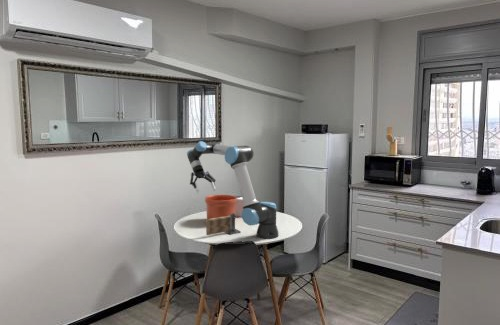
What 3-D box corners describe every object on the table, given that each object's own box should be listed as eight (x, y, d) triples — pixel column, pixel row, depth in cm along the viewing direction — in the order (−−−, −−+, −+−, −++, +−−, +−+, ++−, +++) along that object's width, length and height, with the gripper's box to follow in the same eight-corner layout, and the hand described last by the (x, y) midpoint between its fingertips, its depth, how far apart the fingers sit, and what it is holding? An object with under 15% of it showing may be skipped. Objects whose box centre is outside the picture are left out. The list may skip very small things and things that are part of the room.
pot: (212, 216, 302) (212, 193, 300) (240, 218, 295) (241, 195, 293) (199, 224, 278) (199, 199, 276) (230, 227, 271) (230, 201, 269)
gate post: (234, 230, 263) (234, 211, 262) (240, 232, 256) (240, 213, 255) (224, 231, 258) (224, 213, 257) (230, 234, 252) (230, 215, 251)
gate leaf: (229, 230, 257) (229, 215, 256) (230, 230, 255) (231, 216, 254) (206, 234, 246) (206, 219, 245) (207, 235, 245) (207, 219, 244)
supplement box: (244, 217, 299) (244, 199, 298) (234, 216, 304) (235, 198, 302) (249, 215, 307) (250, 197, 305) (240, 214, 311) (241, 196, 310)
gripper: (210, 169, 283) (219, 192, 272) (180, 171, 269) (189, 195, 258) (213, 163, 278) (223, 186, 267) (183, 165, 264) (192, 189, 253)
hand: (206, 190), depth 262 cm, fingers open, 13 cm apart
